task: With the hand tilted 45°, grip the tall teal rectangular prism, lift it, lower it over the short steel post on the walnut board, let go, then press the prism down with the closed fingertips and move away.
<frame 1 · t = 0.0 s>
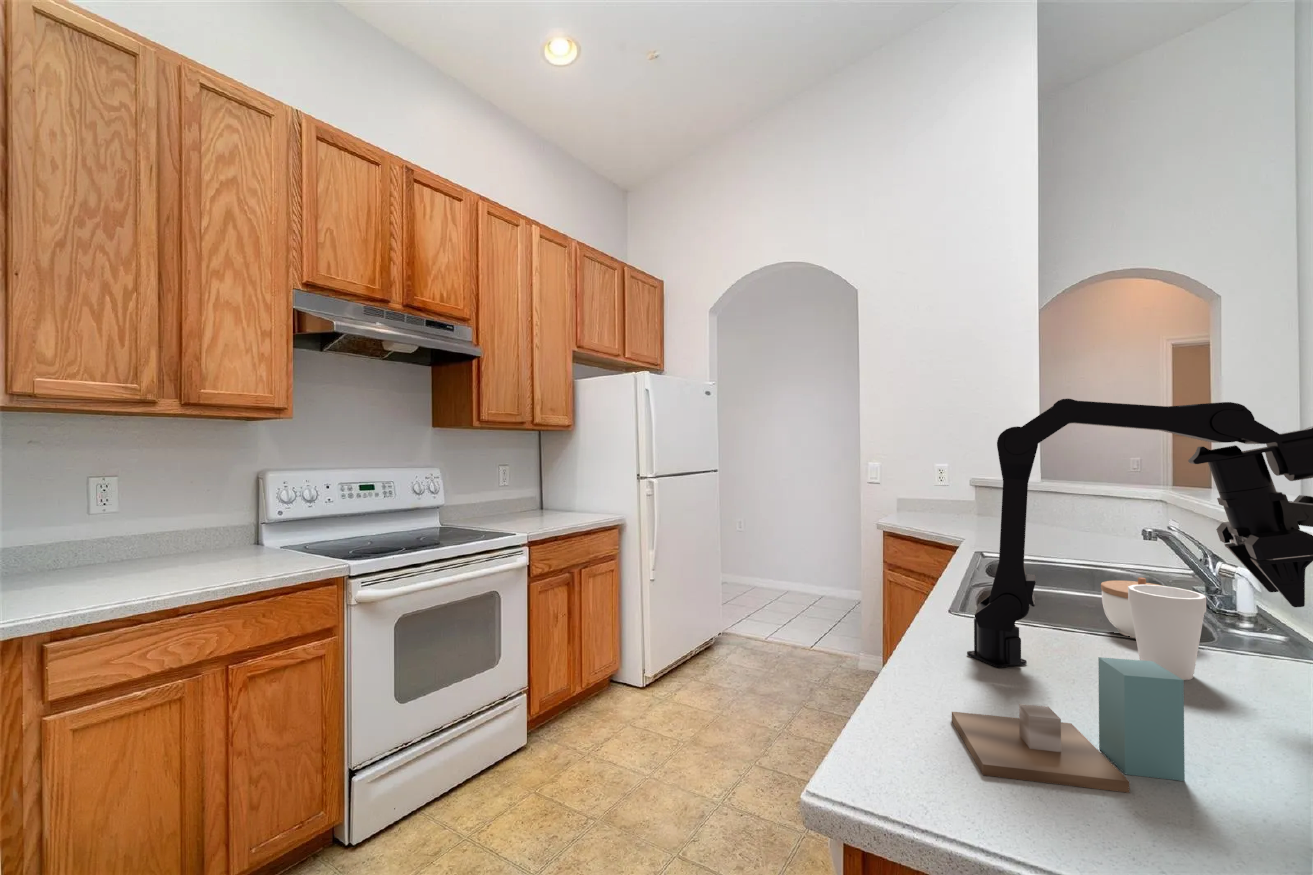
hand: (1285, 599, 80), 15 cm above the countertop, tool pointing down, fingers open, 9 cm apart
post board: (1039, 753, 68), on the countertop
lidded bowl: (1142, 636, 111), on the countertop
foam cup: (1166, 673, 93), on the countertop
teal rectangular prism: (1139, 764, 66), on the countertop
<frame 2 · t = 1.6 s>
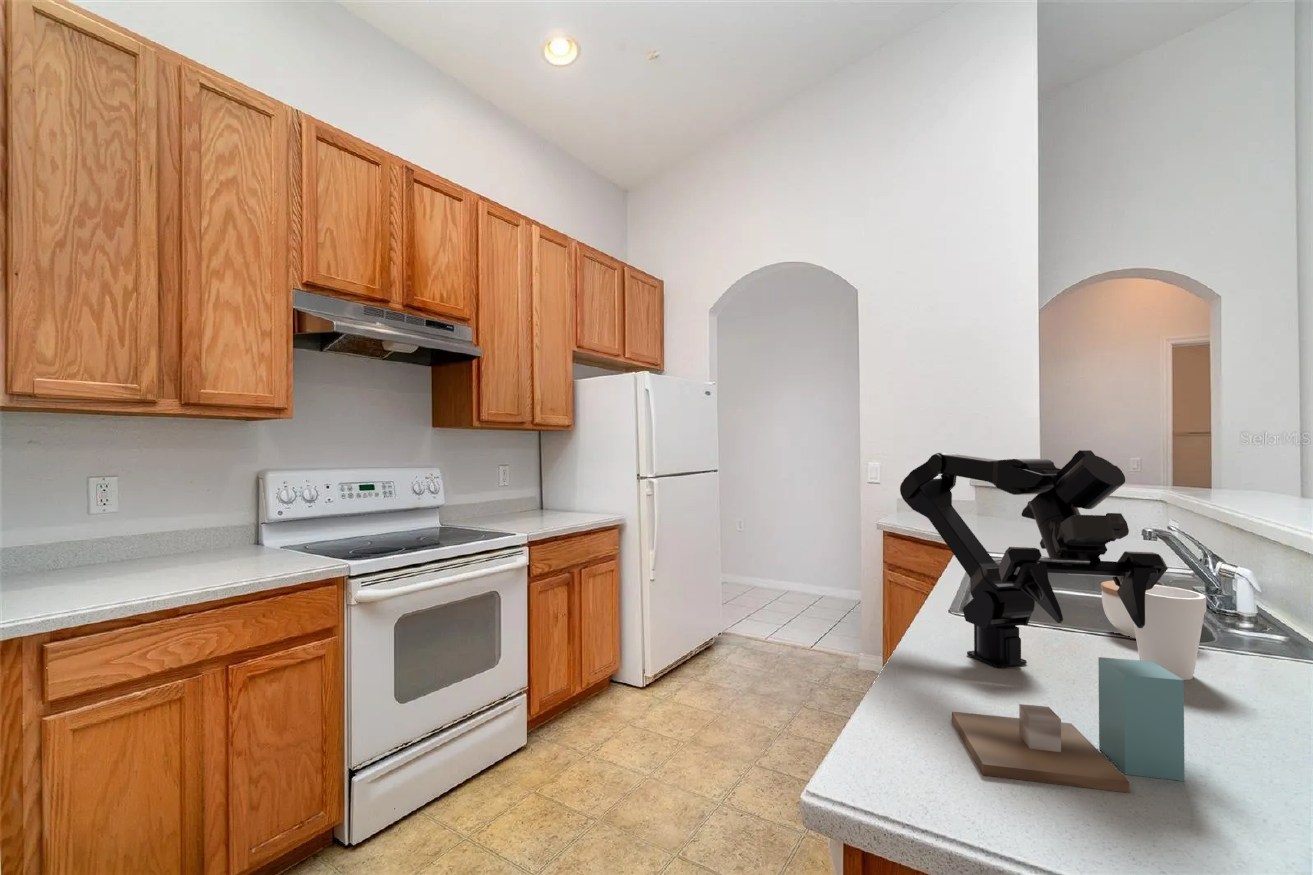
hand: (1100, 624, 75), 13 cm above the countertop, tool tilted 45°, fingers open, 9 cm apart
nothing on the countertop moved.
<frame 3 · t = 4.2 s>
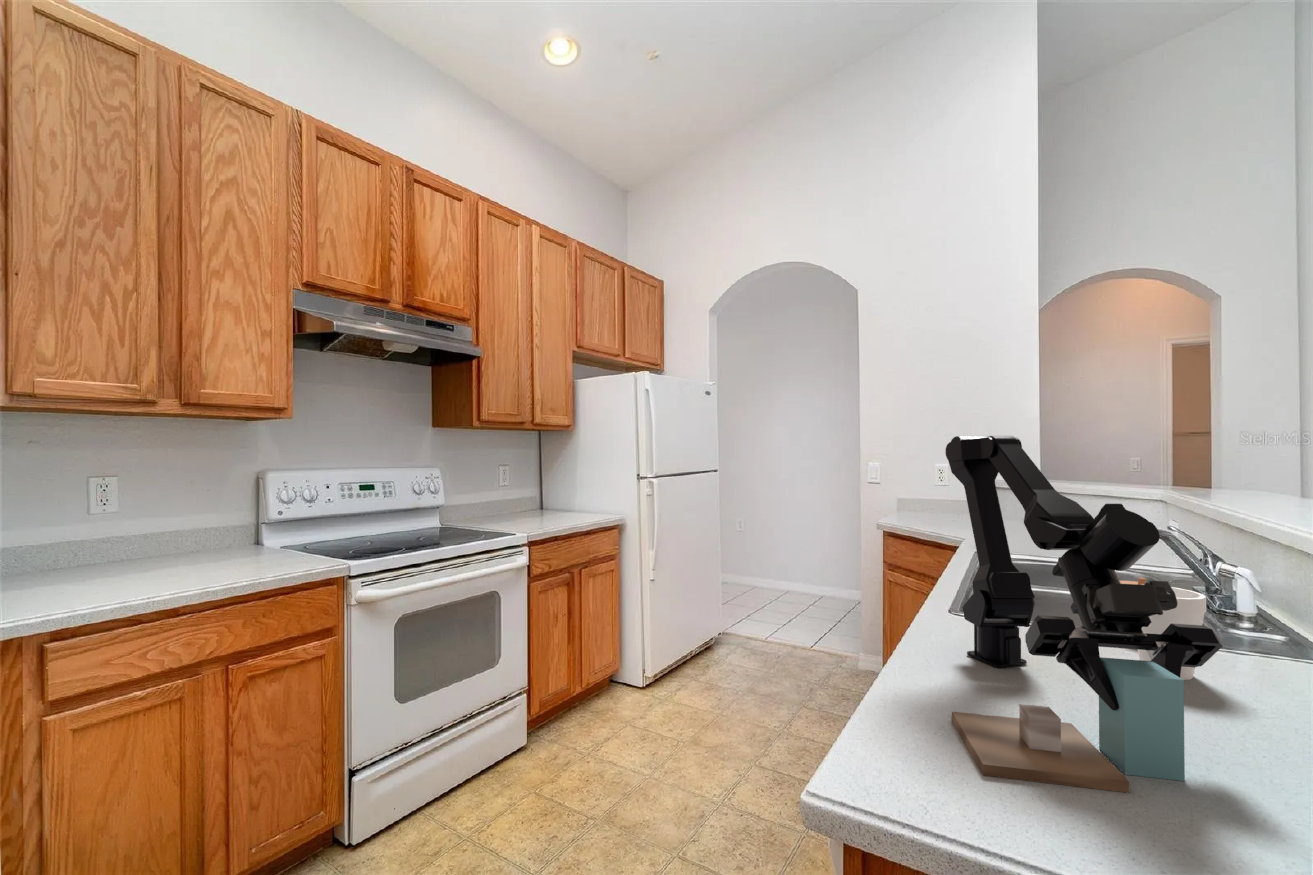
hand: (1146, 711, 65), 7 cm above the countertop, tool tilted 45°, fingers closed on teal rectangular prism, 6 cm apart
teal rectangular prism: (1139, 764, 66), on the countertop, touching gripper
everything else where it was.
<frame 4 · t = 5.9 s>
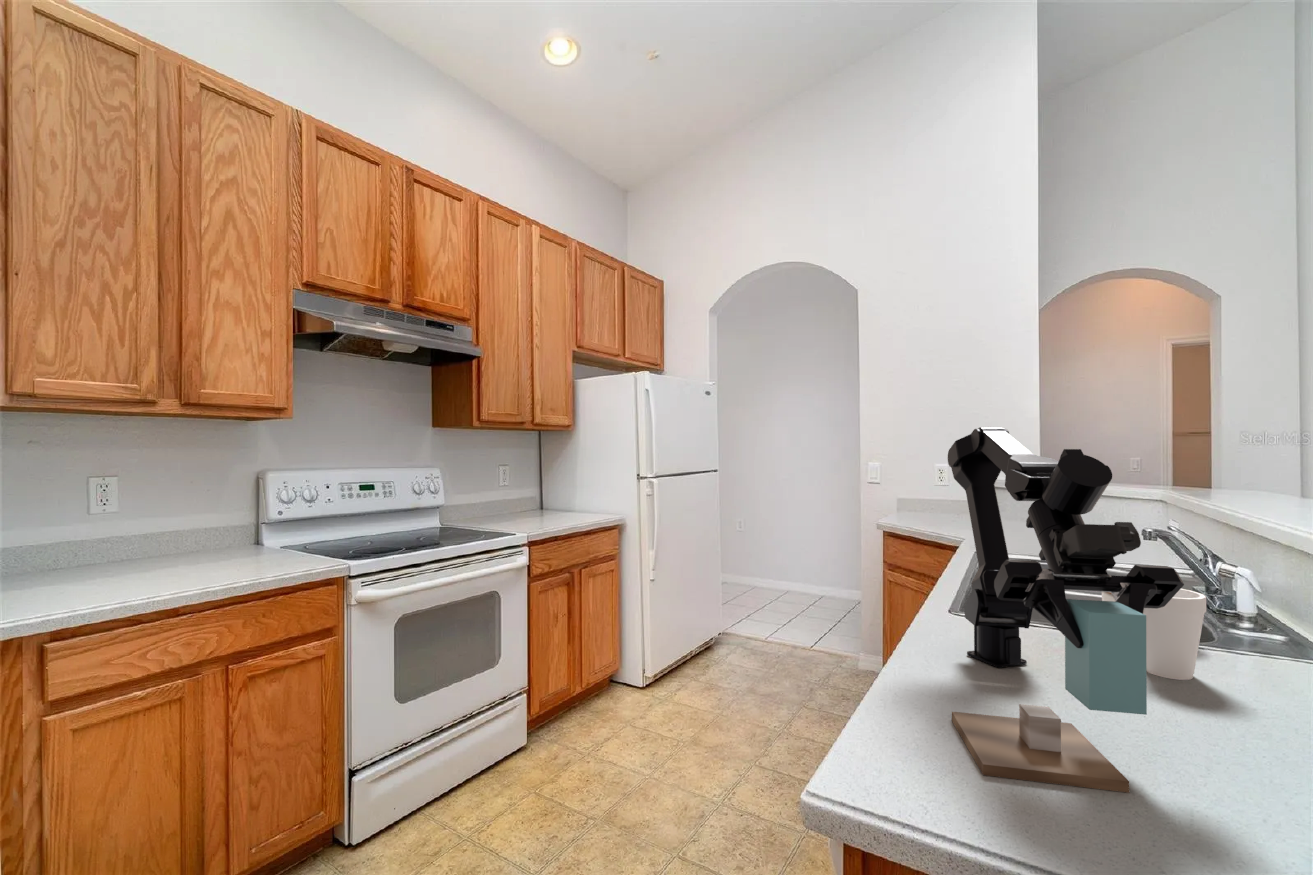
hand: (1110, 648, 66), 13 cm above the countertop, tool tilted 45°, fingers closed on teal rectangular prism, 6 cm apart
teal rectangular prism: (1103, 701, 67), point 7 cm above the countertop, touching gripper
everything else where it was.
when the fingers open (9 cm above the countertop, at t = 7.9 s): teal rectangular prism stays where it is, resting on post board.
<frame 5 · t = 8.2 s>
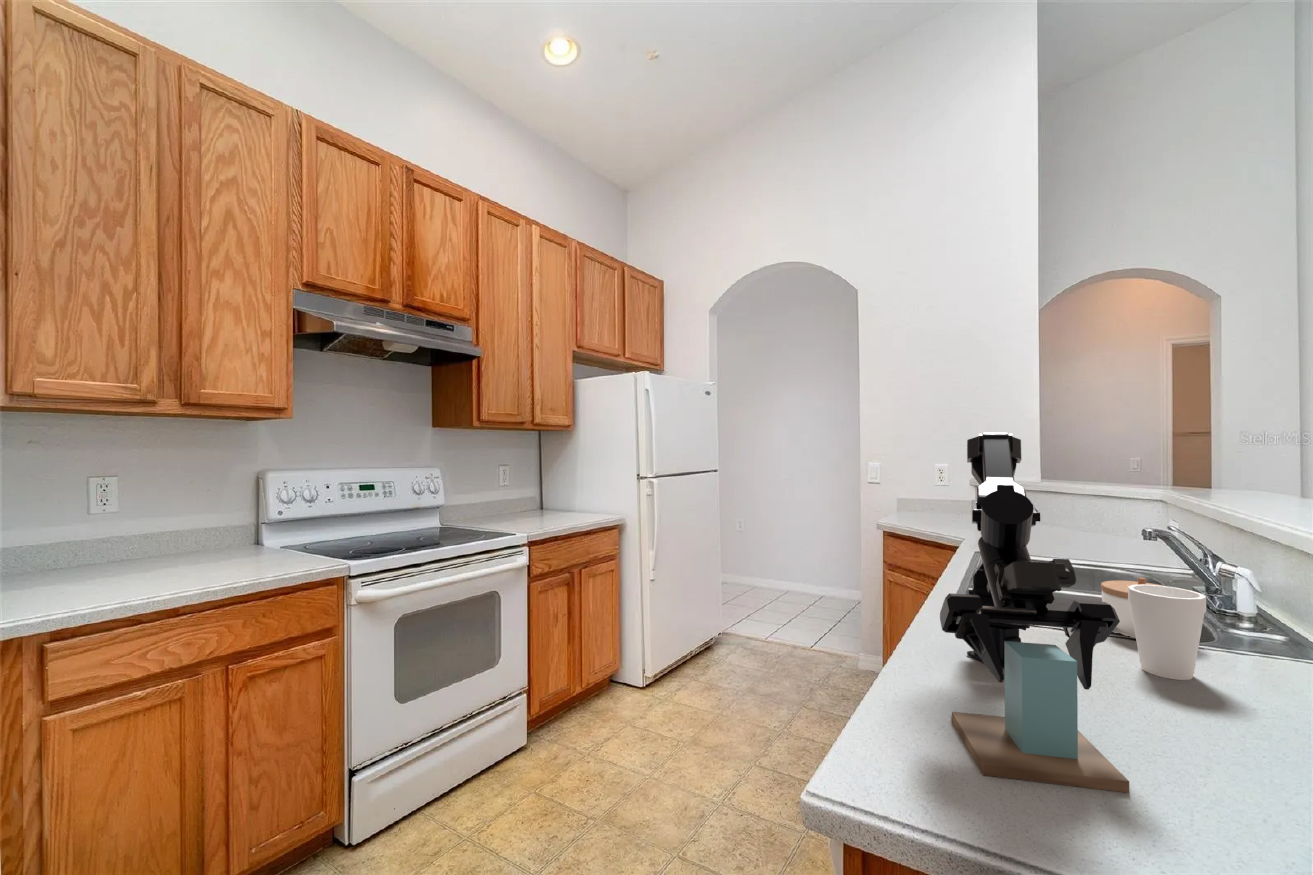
hand: (1044, 684, 67), 9 cm above the countertop, tool tilted 45°, fingers open, 9 cm apart
teal rectangular prism: (1039, 743, 68), point 1 cm above the countertop, touching post board
everything else where it was.
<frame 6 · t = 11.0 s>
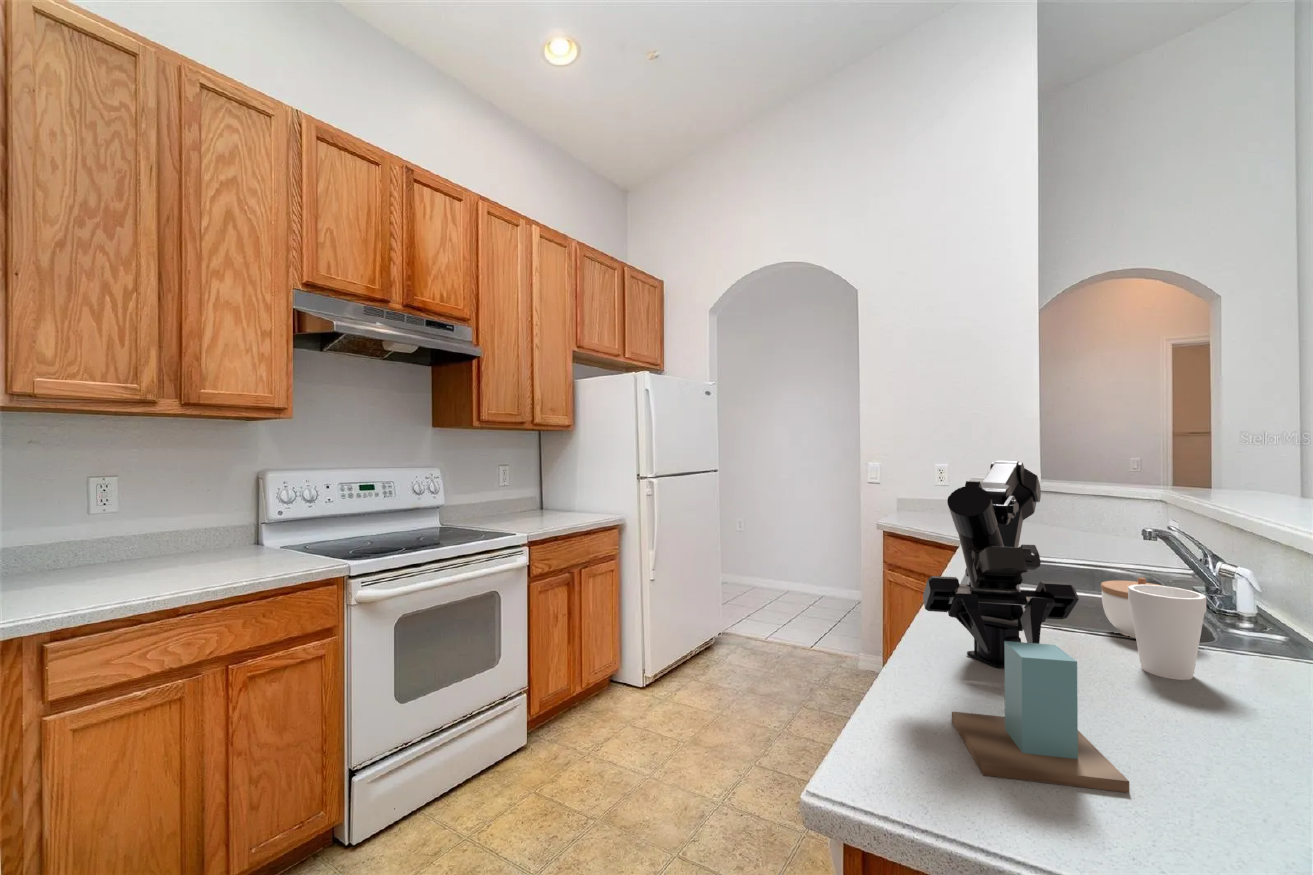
hand: (1012, 653, 77), 9 cm above the countertop, tool tilted 45°, fingers open, 5 cm apart
nothing on the countertop moved.
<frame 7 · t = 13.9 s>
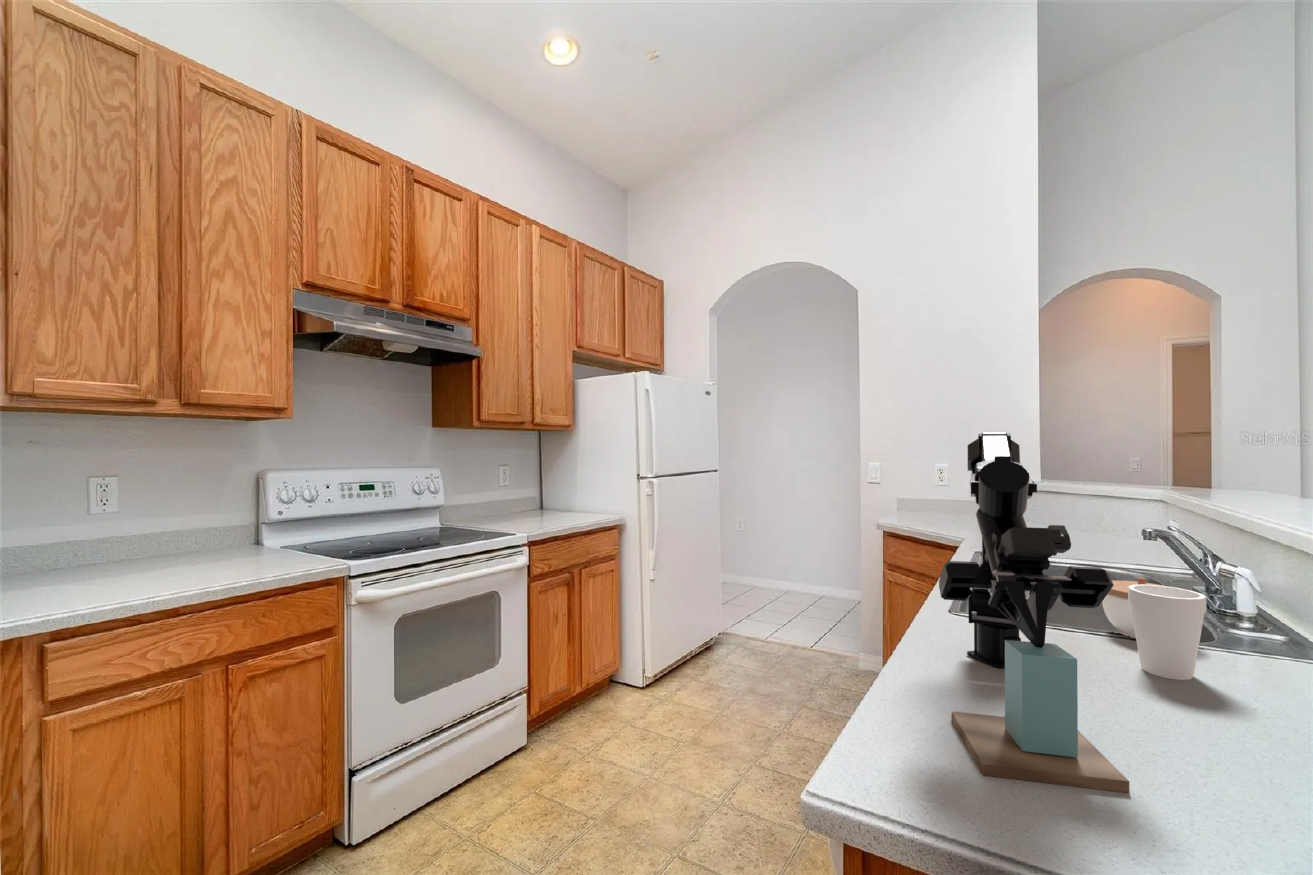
hand: (1039, 645, 69), 13 cm above the countertop, tool tilted 45°, fingers closed, pressing on teal rectangular prism
teal rectangular prism: (1039, 742, 68), point 1 cm above the countertop, touching gripper, post board
everything else where it was.
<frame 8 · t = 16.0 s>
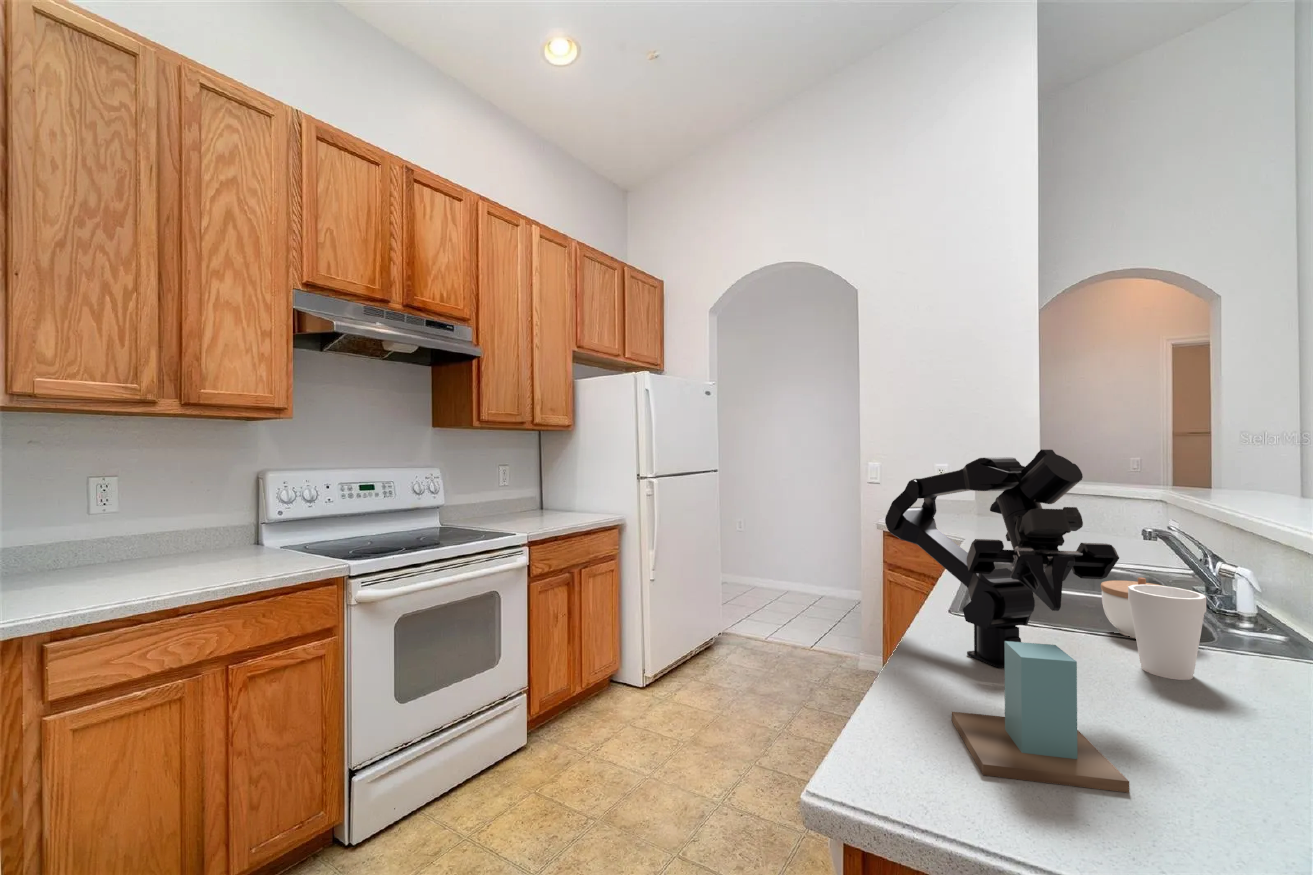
hand: (1056, 609, 81), 14 cm above the countertop, tool tilted 45°, fingers closed
teal rectangular prism: (1039, 743, 68), point 1 cm above the countertop, touching post board
everything else where it was.
at the end: teal rectangular prism 0.1 cm from the post board (horizontally); teal rectangular prism point 1.2 cm above the countertop; the gripper is holding nothing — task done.
